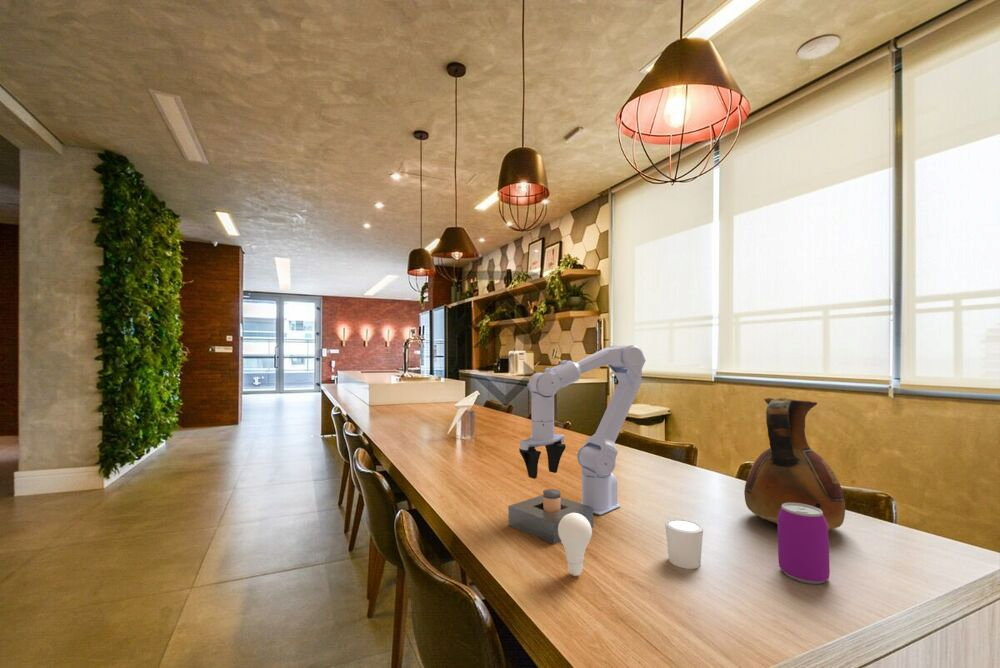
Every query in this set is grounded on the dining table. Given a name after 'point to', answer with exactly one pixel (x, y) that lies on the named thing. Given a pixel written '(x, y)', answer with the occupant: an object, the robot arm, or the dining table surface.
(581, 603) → the dining table surface
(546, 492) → the pin
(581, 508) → the block
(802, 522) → the beverage can
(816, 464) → the ceramic pitcher
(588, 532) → the lightbulb
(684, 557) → the shot glass
